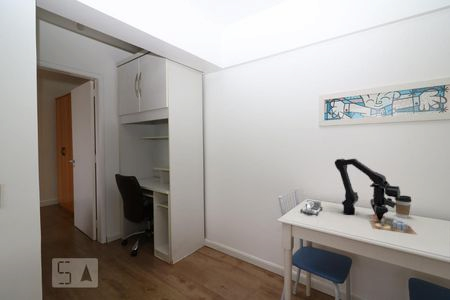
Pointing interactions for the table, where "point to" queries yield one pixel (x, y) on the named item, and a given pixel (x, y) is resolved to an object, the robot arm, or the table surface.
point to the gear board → (390, 227)
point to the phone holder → (312, 207)
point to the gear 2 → (400, 225)
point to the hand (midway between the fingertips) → (378, 218)
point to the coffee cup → (403, 206)
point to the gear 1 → (376, 217)
